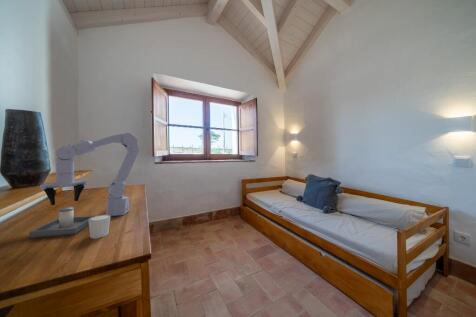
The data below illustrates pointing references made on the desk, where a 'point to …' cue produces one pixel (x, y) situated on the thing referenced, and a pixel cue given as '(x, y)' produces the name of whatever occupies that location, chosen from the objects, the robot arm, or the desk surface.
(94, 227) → the white cup
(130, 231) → the desk surface
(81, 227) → the tray
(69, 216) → the shaker
